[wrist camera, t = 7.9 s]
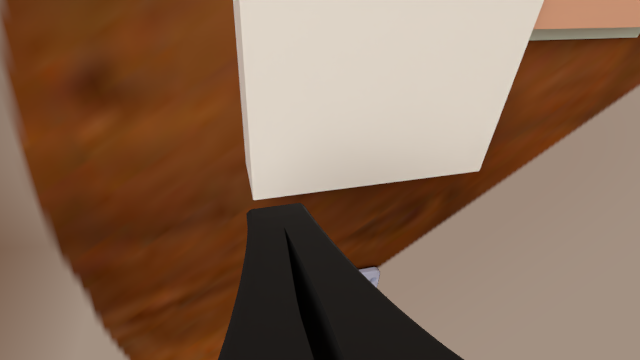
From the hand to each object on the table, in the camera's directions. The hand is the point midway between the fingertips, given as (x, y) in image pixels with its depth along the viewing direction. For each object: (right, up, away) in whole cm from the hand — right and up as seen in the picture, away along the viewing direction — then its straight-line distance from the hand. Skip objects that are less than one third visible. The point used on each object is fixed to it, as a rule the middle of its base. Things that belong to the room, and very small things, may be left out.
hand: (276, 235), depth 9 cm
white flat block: (+3, +9, +7) cm, 12 cm away
